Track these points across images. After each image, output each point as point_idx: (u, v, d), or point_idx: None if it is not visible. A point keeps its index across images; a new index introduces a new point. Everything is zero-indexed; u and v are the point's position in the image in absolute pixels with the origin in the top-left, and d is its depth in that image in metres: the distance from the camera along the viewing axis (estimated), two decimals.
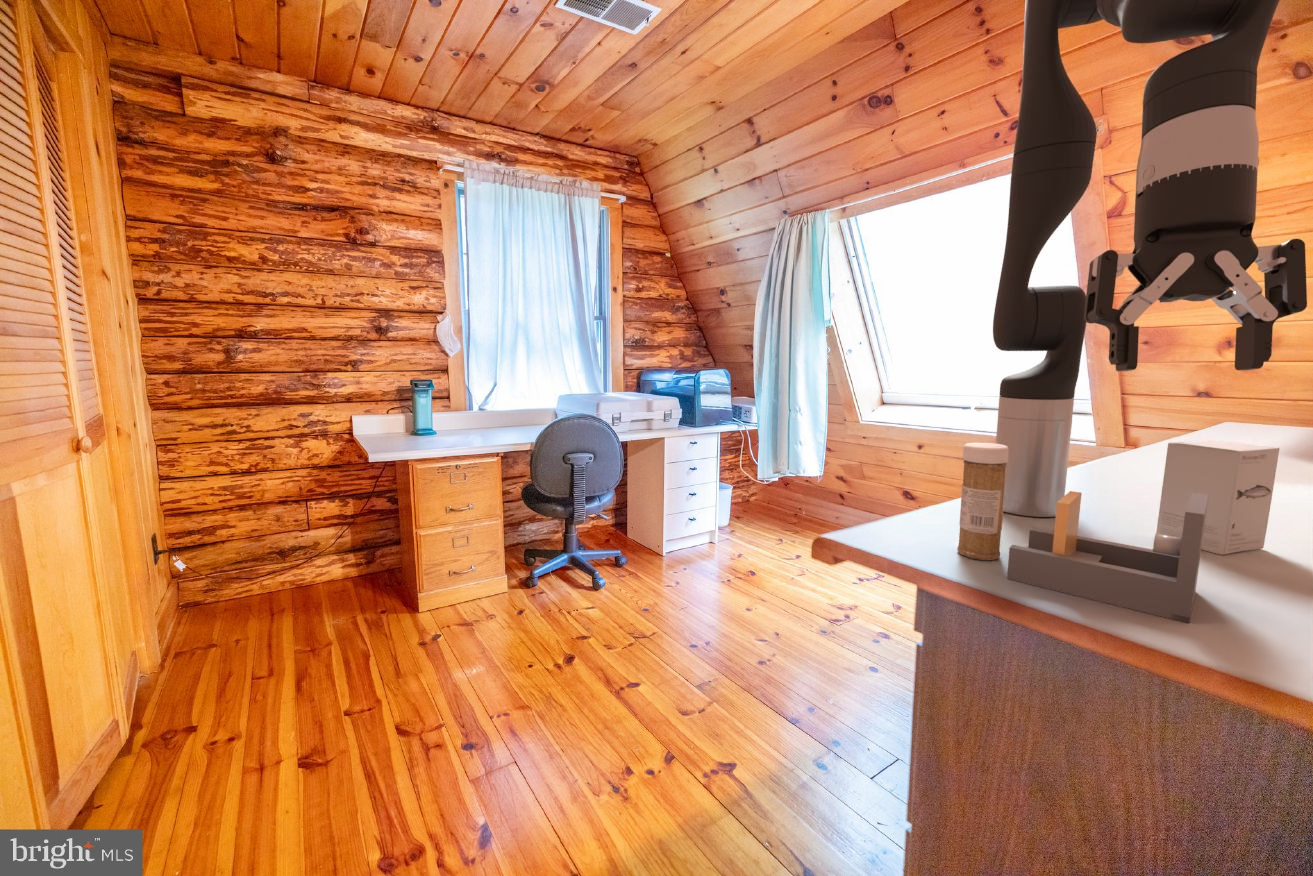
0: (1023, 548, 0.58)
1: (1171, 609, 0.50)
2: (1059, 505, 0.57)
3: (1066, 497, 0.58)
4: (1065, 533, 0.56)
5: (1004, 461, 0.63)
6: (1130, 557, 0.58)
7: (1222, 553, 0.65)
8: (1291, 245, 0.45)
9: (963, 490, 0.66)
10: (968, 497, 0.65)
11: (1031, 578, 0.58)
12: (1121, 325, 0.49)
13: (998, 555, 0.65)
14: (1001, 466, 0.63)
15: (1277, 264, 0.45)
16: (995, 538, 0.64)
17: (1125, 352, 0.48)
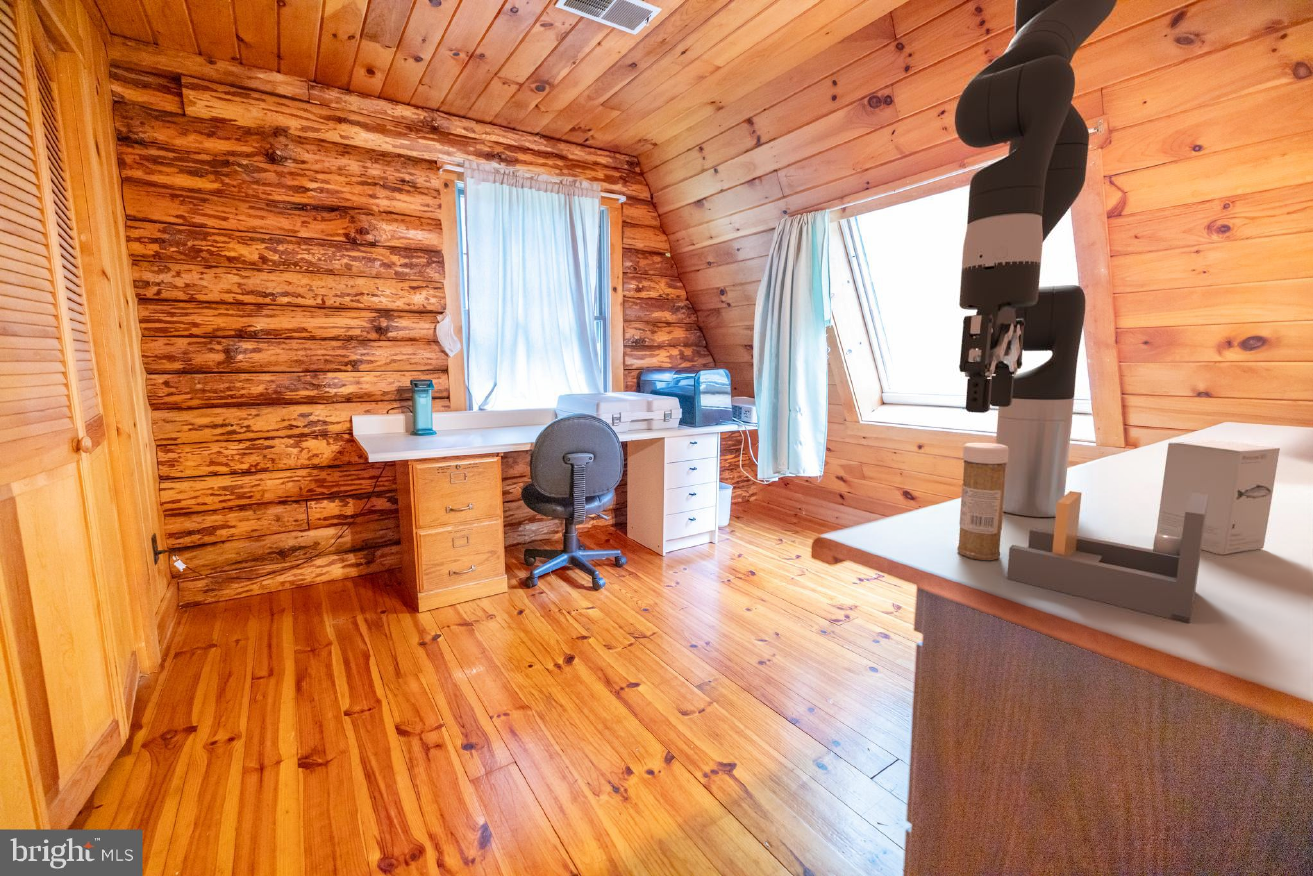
0: (1023, 548, 0.58)
1: (1171, 609, 0.50)
2: (1059, 505, 0.57)
3: (1066, 497, 0.58)
4: (1065, 533, 0.56)
5: (1004, 461, 0.63)
6: (1130, 557, 0.58)
7: (1222, 553, 0.65)
8: (1022, 323, 0.66)
9: (963, 490, 0.66)
10: (968, 497, 0.65)
11: (1031, 578, 0.58)
12: (985, 377, 0.59)
13: (998, 555, 0.65)
14: (1001, 466, 0.63)
15: None
16: (995, 538, 0.64)
17: (984, 399, 0.60)
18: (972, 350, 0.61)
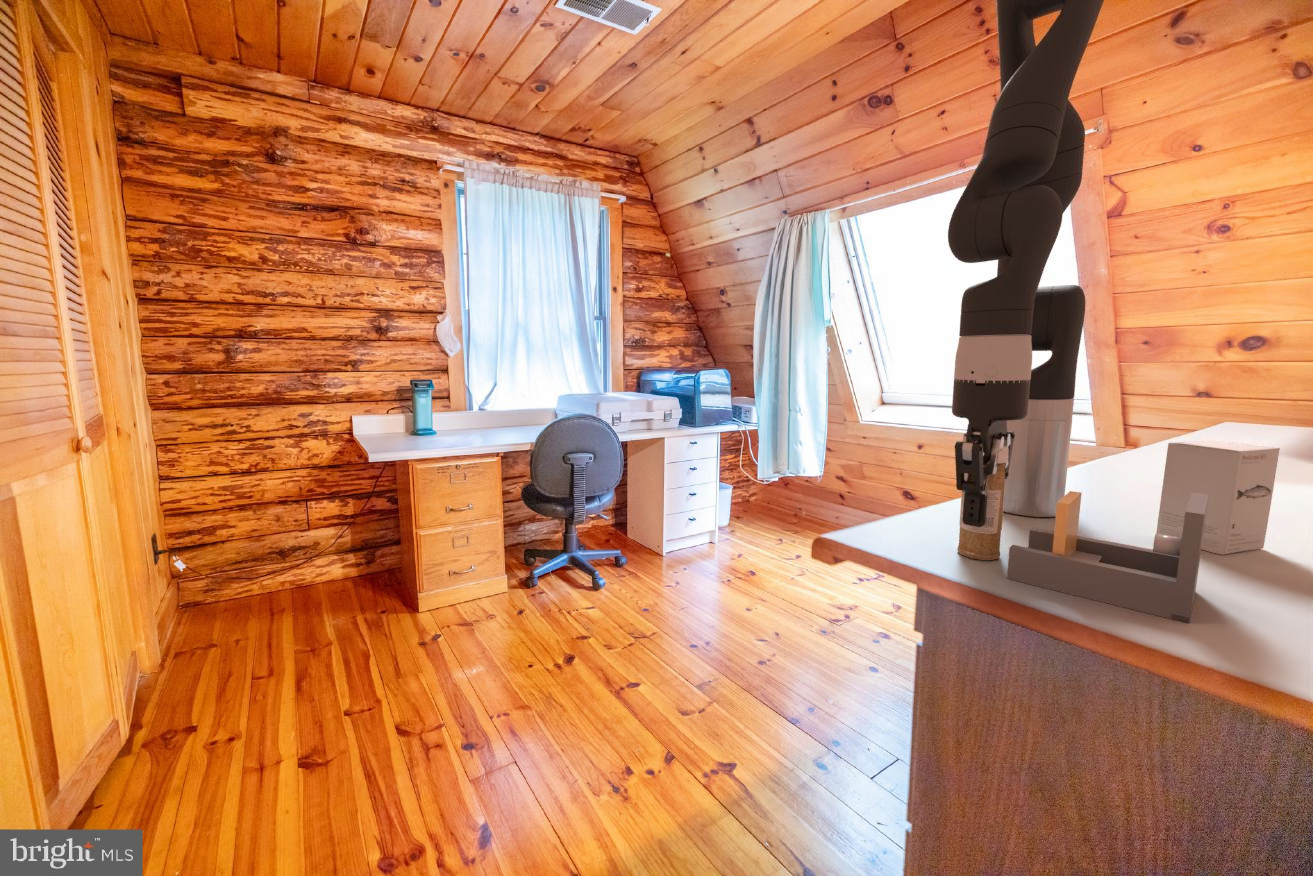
0: (1023, 548, 0.58)
1: (1171, 609, 0.50)
2: (1059, 505, 0.57)
3: (1066, 497, 0.58)
4: (1065, 533, 0.56)
5: (1004, 461, 0.63)
6: (1130, 557, 0.58)
7: (1222, 553, 0.65)
8: (1013, 435, 0.68)
9: None
10: None
11: (1031, 578, 0.58)
12: (980, 495, 0.63)
13: (998, 555, 0.65)
14: (1000, 466, 0.63)
15: None
16: (995, 538, 0.64)
17: (980, 515, 0.63)
18: None
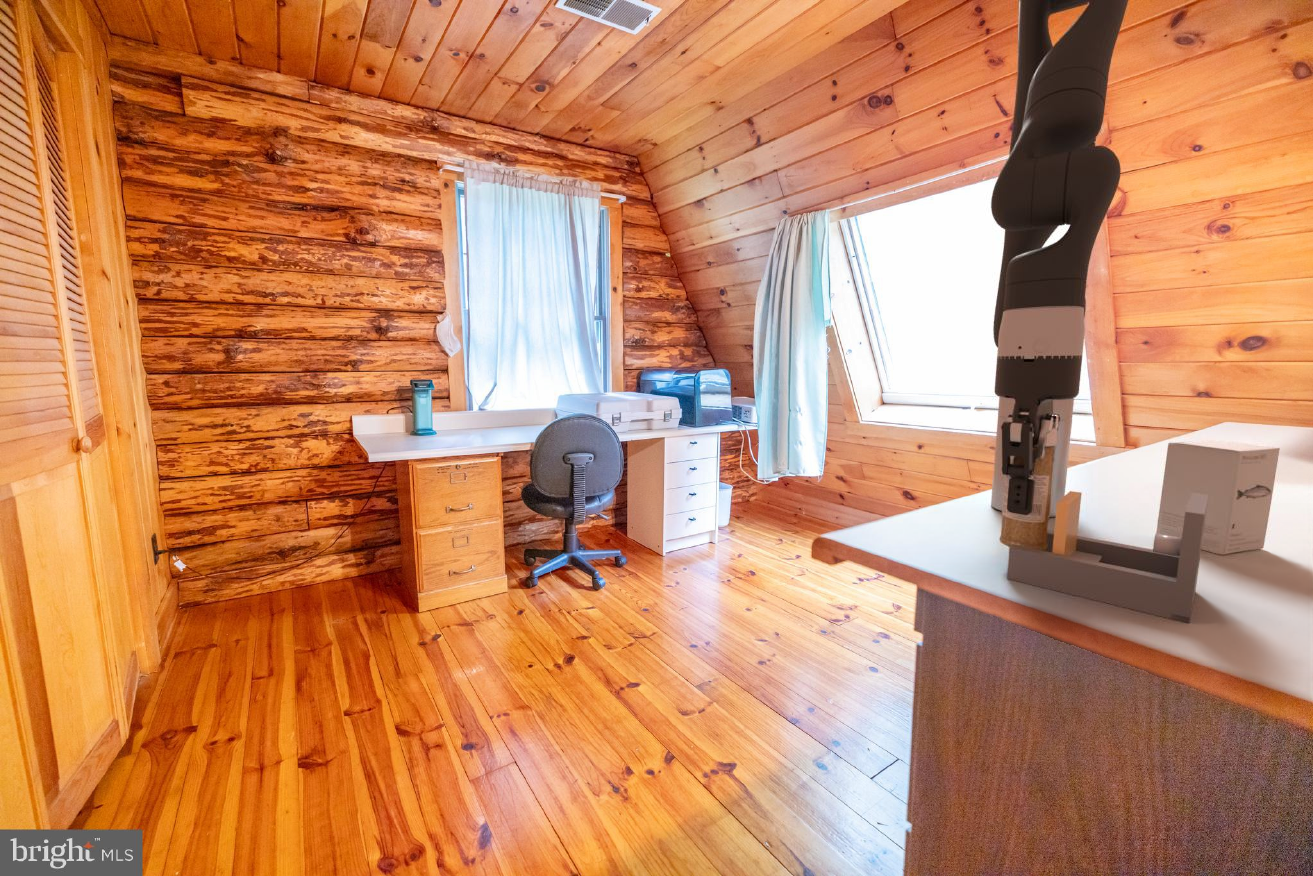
0: (1023, 548, 0.58)
1: (1171, 609, 0.50)
2: (1059, 505, 0.57)
3: (1066, 497, 0.58)
4: (1065, 533, 0.56)
5: (1053, 444, 0.58)
6: (1130, 557, 0.58)
7: (1222, 553, 0.65)
8: (1058, 418, 0.63)
9: None
10: None
11: (1031, 578, 0.58)
12: (1028, 480, 0.58)
13: (1045, 546, 0.60)
14: (1049, 449, 0.58)
15: None
16: (1043, 527, 0.60)
17: (1026, 502, 0.59)
18: None
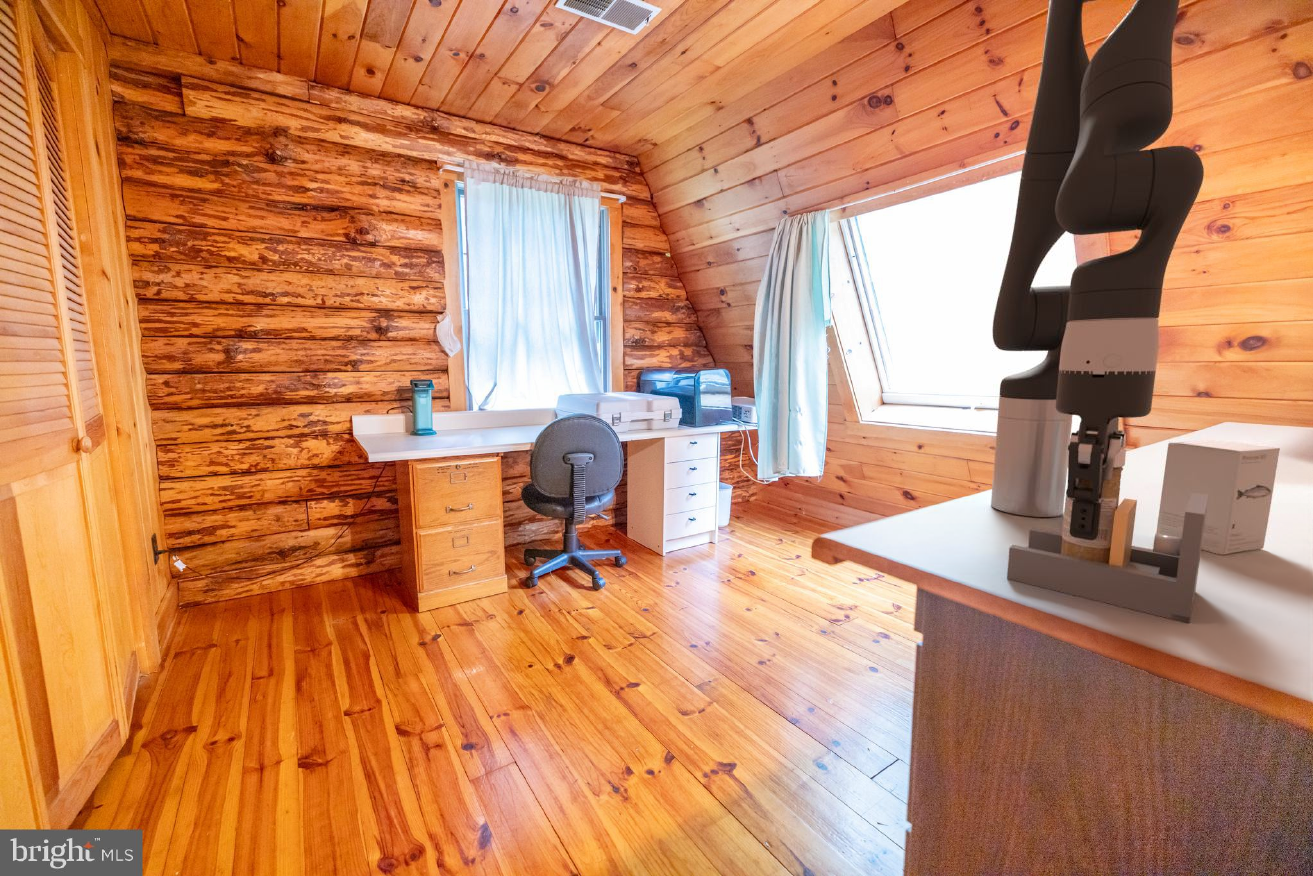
0: (1023, 548, 0.58)
1: (1171, 609, 0.50)
2: (1117, 514, 0.53)
3: (1122, 505, 0.55)
4: (1123, 544, 0.53)
5: (1122, 465, 0.55)
6: (1130, 557, 0.58)
7: (1222, 553, 0.65)
8: None
9: None
10: None
11: (1031, 578, 0.58)
12: (1094, 503, 0.54)
13: None
14: (1117, 471, 0.55)
15: None
16: (1109, 552, 0.56)
17: (1092, 526, 0.55)
18: None
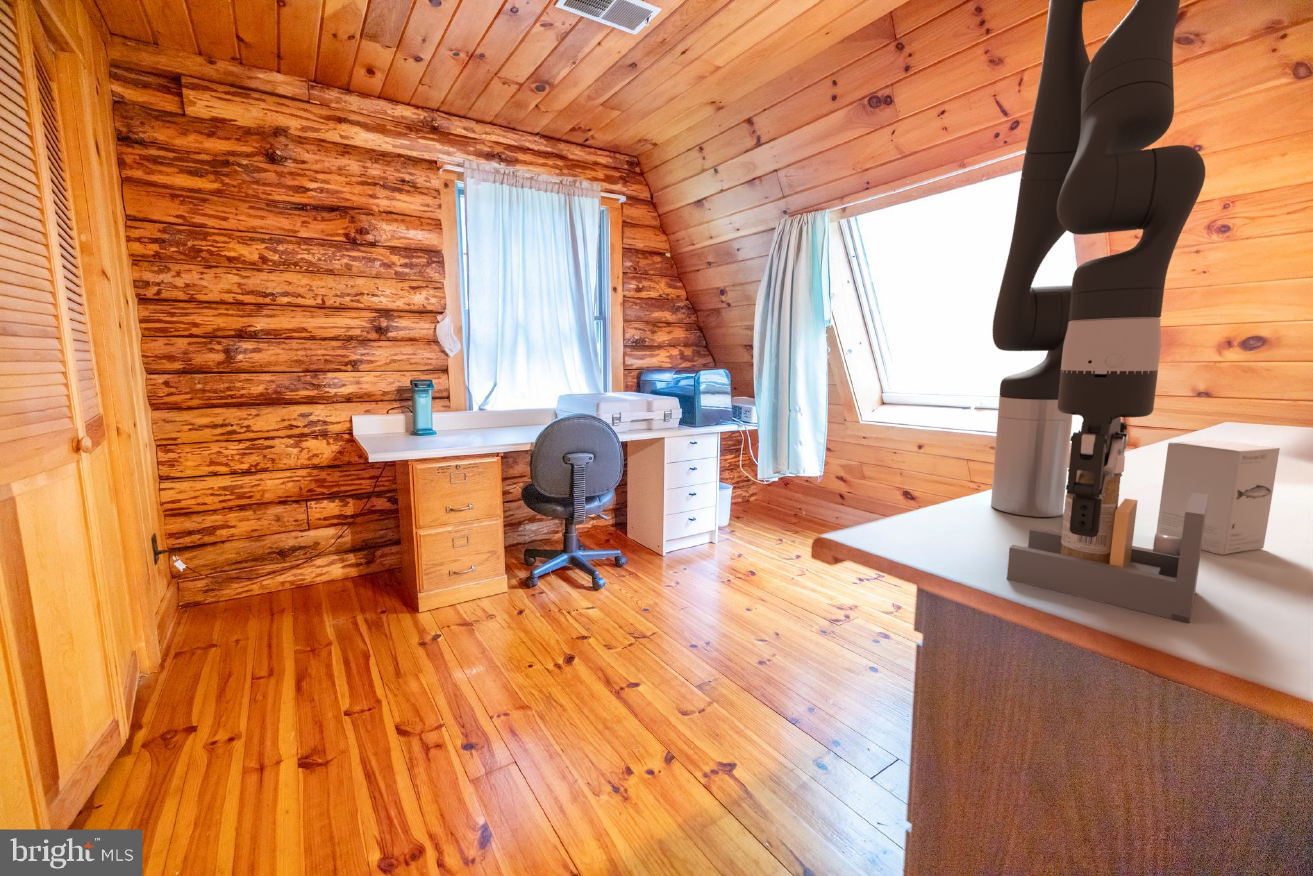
0: (1023, 548, 0.58)
1: (1171, 609, 0.50)
2: (1118, 514, 0.53)
3: (1123, 505, 0.55)
4: (1124, 544, 0.53)
5: (1121, 471, 0.55)
6: None
7: (1222, 553, 0.65)
8: (1125, 426, 0.59)
9: (1069, 503, 0.57)
10: None
11: (1031, 578, 0.58)
12: (1095, 499, 0.53)
13: None
14: (1117, 477, 0.55)
15: None
16: (1108, 558, 0.56)
17: (1093, 523, 0.54)
18: None
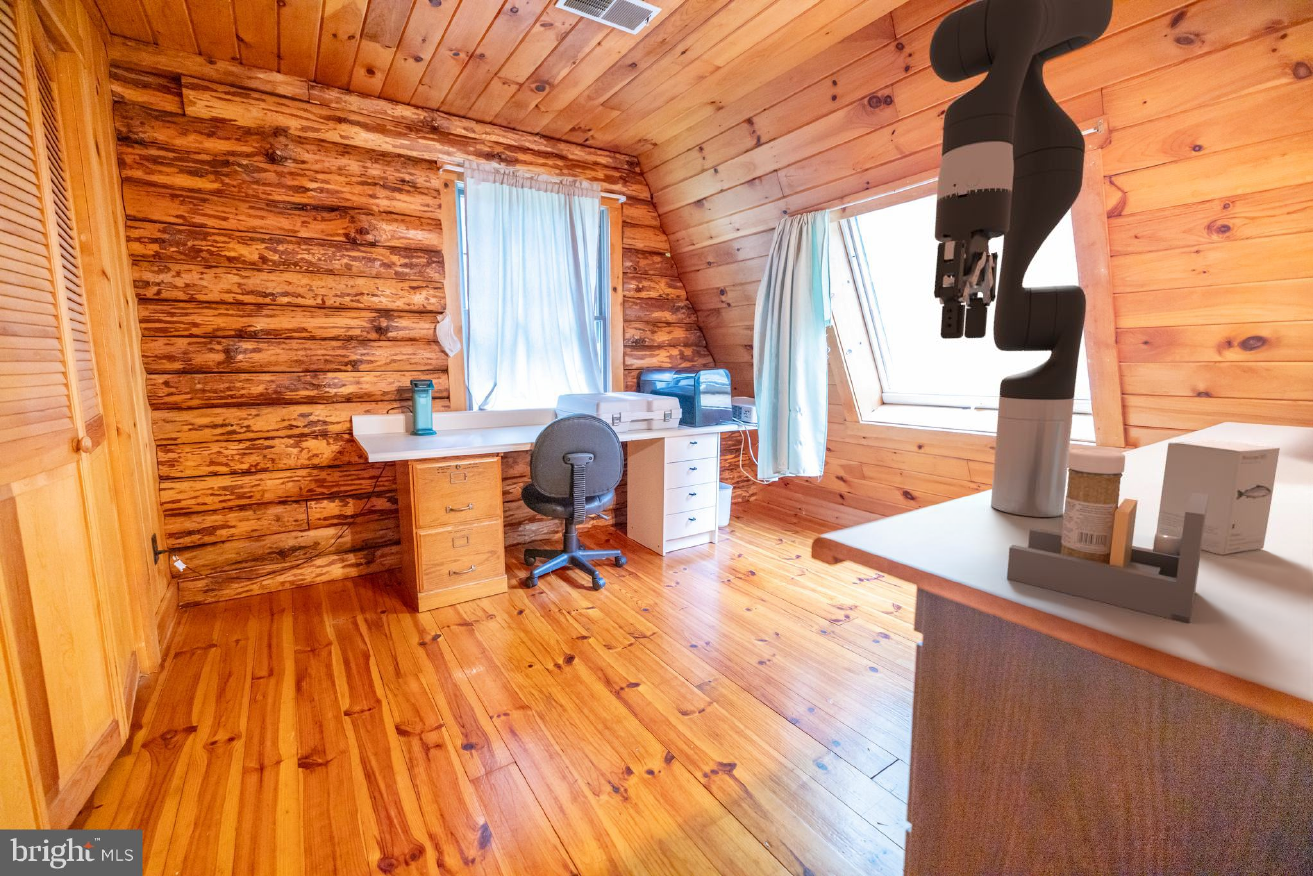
0: (1023, 548, 0.58)
1: (1171, 609, 0.50)
2: (1118, 514, 0.53)
3: (1123, 505, 0.55)
4: (1124, 544, 0.53)
5: (1121, 471, 0.55)
6: None
7: (1222, 553, 0.65)
8: (995, 256, 0.68)
9: (1069, 503, 0.57)
10: (1076, 512, 0.57)
11: (1031, 578, 0.58)
12: (958, 302, 0.61)
13: None
14: (1117, 477, 0.55)
15: None
16: (1108, 558, 0.56)
17: (958, 325, 0.62)
18: (946, 278, 0.63)
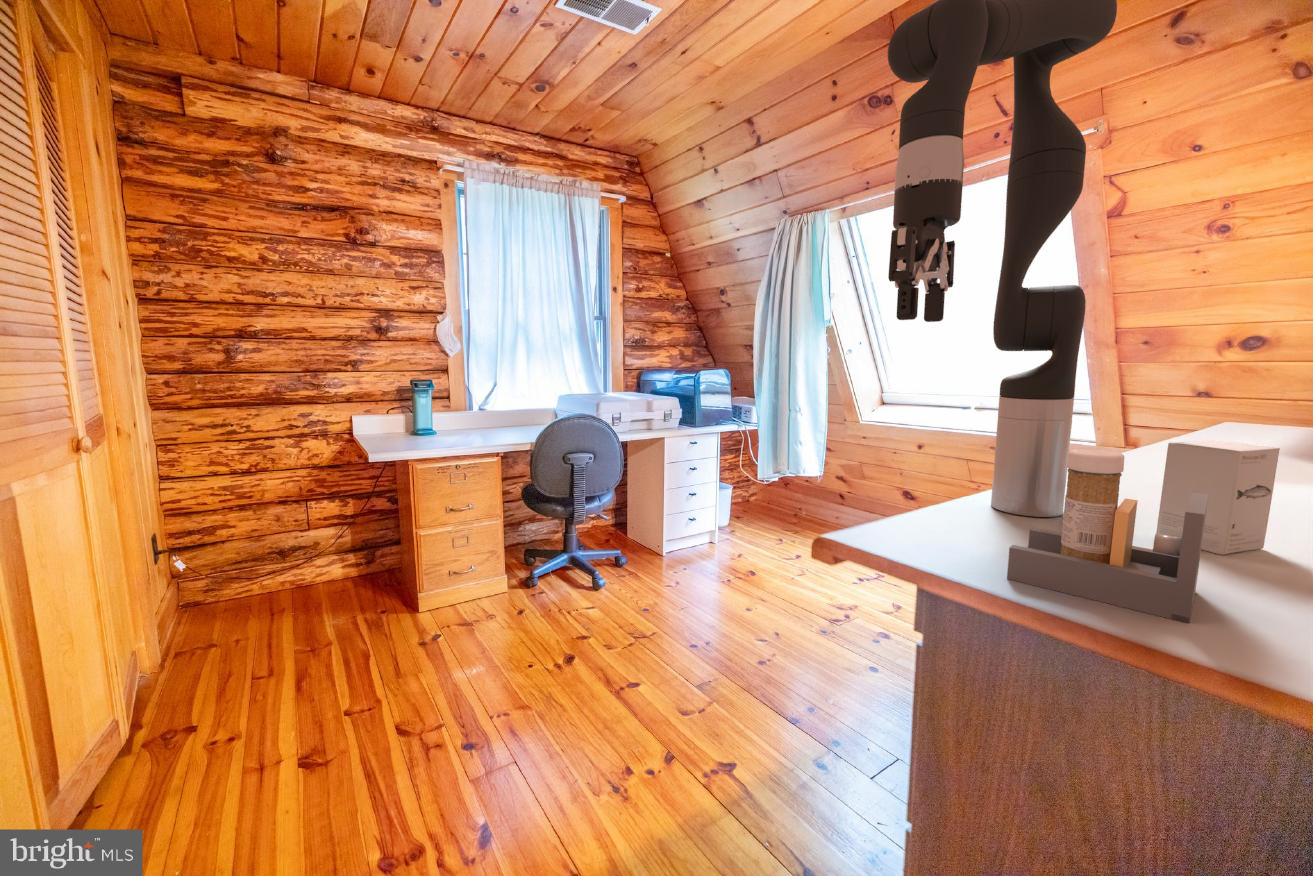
0: (1023, 548, 0.58)
1: (1171, 609, 0.50)
2: (1118, 514, 0.53)
3: (1123, 505, 0.55)
4: (1124, 544, 0.53)
5: (1120, 470, 0.55)
6: None
7: (1222, 553, 0.65)
8: (952, 244, 0.72)
9: (1068, 503, 0.57)
10: (1076, 512, 0.57)
11: (1031, 578, 0.58)
12: (911, 286, 0.66)
13: None
14: (1116, 477, 0.55)
15: (946, 254, 0.72)
16: (1108, 558, 0.56)
17: (911, 306, 0.66)
18: (902, 263, 0.67)
